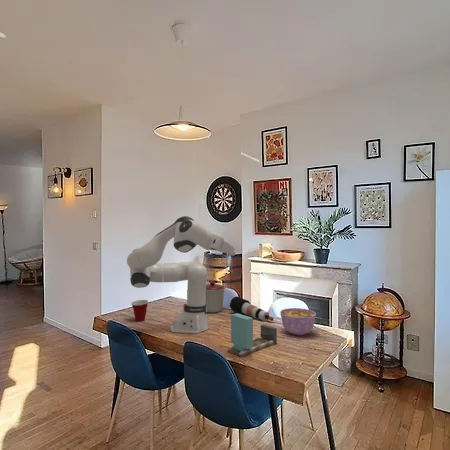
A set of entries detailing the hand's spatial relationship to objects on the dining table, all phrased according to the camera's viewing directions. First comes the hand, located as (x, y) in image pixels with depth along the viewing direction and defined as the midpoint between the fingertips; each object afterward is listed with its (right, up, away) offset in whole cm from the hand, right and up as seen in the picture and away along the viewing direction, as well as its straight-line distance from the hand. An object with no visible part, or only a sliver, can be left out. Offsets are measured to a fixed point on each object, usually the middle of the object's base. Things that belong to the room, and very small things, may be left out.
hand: (228, 252), depth 169 cm
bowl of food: (+40, -48, +21) cm, 66 cm away
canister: (-10, -47, +68) cm, 83 cm away
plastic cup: (-56, -47, +45) cm, 86 cm away
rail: (+13, -48, -1) cm, 49 cm away
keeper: (+7, -46, -6) cm, 47 cm away
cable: (+17, -47, +52) cm, 72 cm away
